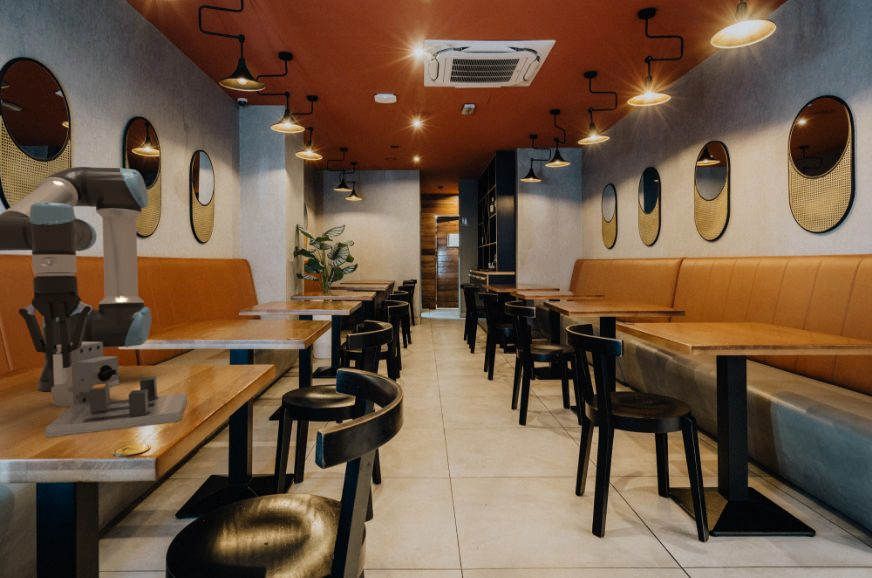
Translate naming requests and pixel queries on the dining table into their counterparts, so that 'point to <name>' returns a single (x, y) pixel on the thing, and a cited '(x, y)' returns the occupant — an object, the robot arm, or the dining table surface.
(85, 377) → the circuit breaker
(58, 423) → the breaker panel
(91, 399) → the toggle
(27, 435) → the dining table surface
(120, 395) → the dining table surface
